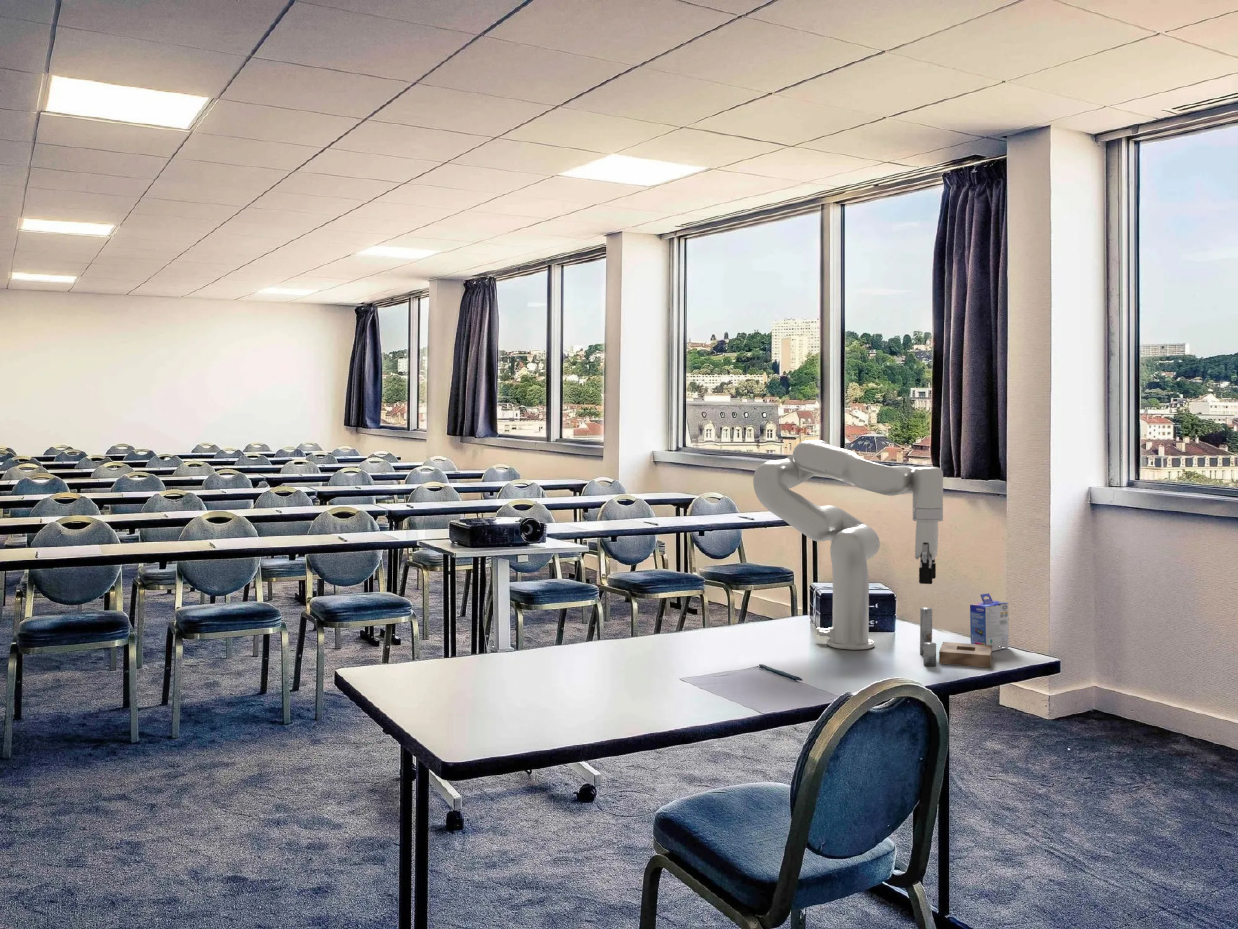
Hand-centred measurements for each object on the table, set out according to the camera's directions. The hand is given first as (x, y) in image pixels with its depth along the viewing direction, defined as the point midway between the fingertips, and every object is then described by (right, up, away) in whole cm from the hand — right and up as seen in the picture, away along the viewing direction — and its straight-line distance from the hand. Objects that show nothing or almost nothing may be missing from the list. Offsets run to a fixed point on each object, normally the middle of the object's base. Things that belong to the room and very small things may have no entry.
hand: (927, 581), depth 267 cm
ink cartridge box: (+19, -19, +7) cm, 28 cm away
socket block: (+8, -19, -6) cm, 22 cm away
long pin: (0, -19, +1) cm, 19 cm away
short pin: (-3, -20, -11) cm, 23 cm away
